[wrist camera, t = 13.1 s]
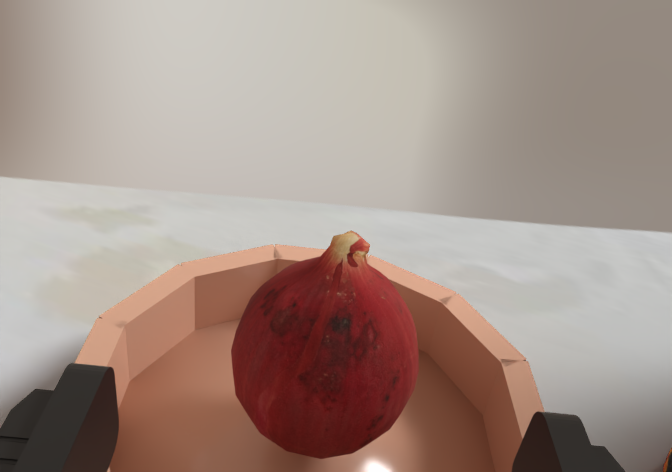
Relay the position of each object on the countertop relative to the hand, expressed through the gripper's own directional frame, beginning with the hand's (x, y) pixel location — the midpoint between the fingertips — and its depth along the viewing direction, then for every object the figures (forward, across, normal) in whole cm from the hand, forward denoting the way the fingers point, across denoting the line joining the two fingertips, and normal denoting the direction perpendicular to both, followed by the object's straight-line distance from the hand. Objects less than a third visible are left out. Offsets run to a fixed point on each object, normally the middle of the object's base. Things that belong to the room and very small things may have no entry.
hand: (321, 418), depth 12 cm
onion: (+6, 0, +8) cm, 10 cm away
